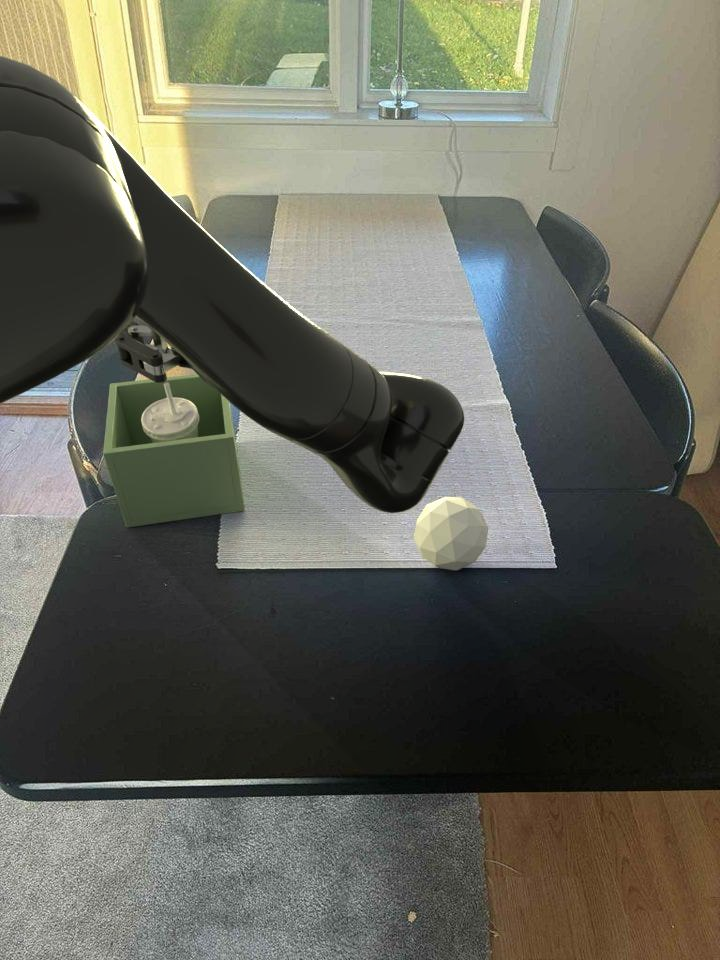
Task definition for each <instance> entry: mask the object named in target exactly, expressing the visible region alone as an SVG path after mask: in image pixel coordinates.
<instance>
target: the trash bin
mask: <svg viewBox="0 0 720 960" xmlns="http://www.w3.org/2000/svg"><path fill="white" fill-rule="evenodd" d="M164 383H169V386H170V390H171V393H172V397H173V398H183V399H186V400H189V401H191V402H192V403H193V404H194V405H195V406H196V408H197V411H198V414H199V423H198V425H197V427H198V437H197V438H189V439H181V440H174V441H166V442H158V443H153V442H152V440H151V438H150V437H149V436H148V435H147V434H146V433H145V432H144V430H143V427H142V422H141V417H142V414H143V412H144V411H145V410H146V408H148V407H149V406H150V405H151V404H153V403H155V402H157V401H159V400H162V399H166V398H167V395H166V391H165V387H164ZM106 411H107V413H106V421H105V430H104V442H103V451H102V455H103V459H104V462H105V465H106V469H107V471H108V474H109V477H110V481H111V484H112V487H113V490H114V494H115V497H116V500H117V503H118V506H119V509H120V511H121V515H122V519H123V521H124V524H125V528H128V529H129V528H133V527H141V526H147V525H154V524H155V525H156V524H161V523H168V522H174V521H183V520H189V519H197V518H203V517H211V516H216V515H224V514H230V513H231V514H232V513H237V512H244V511H245V510H246V509H245V502H244V495H243V488H242V487H243V486H242V479H241V478H242V477H241V472H240V471H241V470H240V463H239V455H238V447H237V441H236V440H237V439H236V434H235V427H234V421H233V420H234V419H233V414H232V413H233V412H232V406H231V403H230V402H229V401H228V400H227V399H226V398H225V397H224V396H223V395H221V394H220V393H219V392H218V391H217V390H216V389H215V388H213V387H211V386H210V385H208V384H207V383H205V382H204V381H203V380H202V379H201V378H200V377H199V376H198V374H197V373H193V374H192V373H191V374H185V375H175V376H174V375H173V376H167V380H166V381H164V382H161V383H156V382H154V381H152V380H150V379H149V378H147V379H139V380H131V381H121V382H113V383H110V384H109V392H108V402H107V410H106Z"/></svg>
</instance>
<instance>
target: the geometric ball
mask: <svg viewBox="0 0 720 960" xmlns="http://www.w3.org/2000/svg"><path fill="white" fill-rule="evenodd" d="M488 535H489V526H488V523H487V521H486V519H485V517H484V515H483V513H482V510H481V509H480V508H479V507H478V506H476V505H474V504H473V503H471V502H470V501H468V500H467V499H465V498H463V497H455V496H454V497H453V496H444V497H441V498H439V499H437V500H434V501H432V502H430V503H427V504H426V505H425V506H424V508H423V509H422V512H420V514H419V517H418V518H417V519H416V524H415V529H414V534H413V540H414V542H415V545H416V547H417V549H418V551H419V554H420V555H421V557H422V558H423V559H424V560H426V561H427V562H429V563H431V564H432V565H434V566H435V567H436V568H438V569H443V570H449V571H456V572H457V571H459V570H461V569H463V568H465V567H467V566H469V565H471V564H474V563H476V561H477V560H478V559H479V557H480V556H481V554H482V553H483V552H484V550H485V549H486V547H487V542H488Z"/></svg>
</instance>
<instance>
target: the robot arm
mask: <svg viewBox="0 0 720 960" xmlns="http://www.w3.org/2000/svg"><path fill="white" fill-rule="evenodd" d="M134 319H137V320H139V322H141V323H142V324H143V325H139V323H138V322H137V321H135V320H134ZM145 338H150V339H152V341H153V344H150V343H149V344H148V343H146V341H145ZM113 341H114V343H115V345H116V348H117V351H118V355H119V361H120V364H121V365H123V366H125V367H127V368H129V369H130V370H132V371H134V372H136V373H137V374H140V375H141V376H143V377H145V378H147V379H150V380H152V381H154V382H156V383H161V382H164V381H166V380H167V377H168V376H167V372H168V371H170V370H172V369H174V368H176V367H177V366H178V367H179V368H184V369H190V370H192V371H194V372H195V374H198V376H199V377H200V378H201V379H202V380H203V381H204V382H205V383H207V384H208V385H210V386H211V387H213V388H215V389H216V390H217V391H218V392H219V393H220V394H221V395H223V396H224V397H225V398H226V399H227V400H228V401H229V402H230V405H232V406H233V407H234V408H236V409H237V410H238V411H239V412H241V413H242V414H243V415H245V416H246V417H247V418H249V419H250V420H252V421H253V422H254V423H256V424H257V425H259V426H260V427H262V428H264V429H265V430H267V431H269V432H270V433H273V434H275V435H277V436H278V437H281V438H283V439H285V440H287V441H288V442H291V443H293V444H295V445H297V446H299V447H301V448H303V449H305V450H307V451H309V452H312V453H313V454H314V455H316V456H318V457H320V458H322V459H323V460H324V461H325V462H326V463H327V464H328V465H329V466H330V467H331V468H332V470H333V471H334V472H335V474H336V475H337V476H338V477H339V479H340V480H341V482H342V483H343V484H344V485H345V486H346V487H347V488H348V489H349V490H350V491H351V492H352V494H354V495H355V496H356V497H357V498H358V499H359V500H361V502H363V503H365V504H366V505H368V506H369V507H370V508H373V509H374V510H377V511H379V512H383V513H387V514H401V513H405V512H408V511H410V510H412V509H414V508H415V507H417V506H418V505H419V504H420V503H421V502H422V500H423V499H424V498H425V496H426V495H427V493H428V492H429V489H430V488H431V486H432V484H433V482H434V480H435V479H436V477H437V475H438V473H439V471H441V468H442V466H443V465H444V463H445V461H446V460H447V458H448V456H449V454H450V451H452V450H453V447H454V446H455V444H456V443H457V441H458V439H459V437H460V435H461V433H462V431H463V429H464V424H465V412H464V410H463V407H462V405H461V403H460V401H459V399H458V398H457V397H456V395H455V394H454V393H453V392H452V391H451V390H450V389H449V388H447V387H446V386H445V385H442V384H441V383H439V382H437V381H435V380H434V379H433V380H432V379H430V378H427V377H424V376H421V375H414V374H409V373H403V372H402V373H400V372H392V371H383V370H381V371H380V370H378V369H377V368H376V366H373V365H372V364H371V363H370V362H369V361H367V360H366V359H364V358H363V357H361V356H360V355H359V354H357V353H356V352H355V351H354V350H352V349H351V348H350V347H348V346H346V344H344V343H342V342H341V341H340V340H339V339H337V338H336V337H334V336H333V335H331V334H330V333H329V332H327V331H326V330H325V329H323V328H322V327H320V325H318V324H317V323H315V322H314V321H312V320H311V319H310V318H308V317H307V316H306V315H304V314H303V313H301V312H300V311H299V310H298V309H297V308H295V307H294V306H293V305H291V304H290V303H289V302H288V301H286V300H285V299H283V297H281V296H280V295H279V294H277V292H275V291H274V290H273V289H271V288H270V287H269V286H268V285H267V284H265V282H263V281H262V280H261V279H260V278H258V277H257V276H256V275H255V274H254V273H253V272H251V270H249V269H248V268H247V267H246V266H245V265H243V264H242V263H241V262H240V261H239V260H238V259H236V257H234V256H233V254H231V253H230V252H229V251H228V250H227V249H226V248H224V247H223V246H222V245H221V244H220V243H219V242H218V241H217V240H216V239H215V238H214V237H212V236H211V234H209V233H208V232H207V231H206V230H205V229H204V228H203V227H202V226H201V225H200V224H199V223H198V222H196V221H195V220H194V219H193V217H191V216H190V214H188V213H187V212H186V210H184V209H183V208H182V206H180V205H179V204H178V203H177V202H176V201H175V200H174V199H173V197H171V196H170V195H169V194H168V193H167V192H166V191H165V190H164V188H163V187H162V186H161V185H160V184H159V183H158V182H157V181H156V180H155V179H154V178H153V177H152V176H151V175H150V173H148V171H146V169H145V167H143V166H142V165H141V164H140V162H138V160H136V158H135V157H134V156H133V155H132V154H131V153H130V152H129V151H128V150H127V149H126V147H124V145H123V144H122V143H121V142H120V141H119V140H118V139H117V138H116V137H115V136H114V135H113V133H112V132H111V131H110V130H109V129H108V128H107V127H106V126H105V125H104V124H103V123H102V122H101V121H100V120H99V119H98V118H97V116H96V115H95V114H94V113H93V112H92V111H91V110H90V109H89V108H88V107H87V106H86V105H85V104H84V103H83V102H82V101H81V100H80V99H79V98H78V97H77V96H76V95H75V94H74V93H73V92H72V91H71V90H69V89H68V88H67V87H66V86H64V85H63V84H62V83H60V82H59V81H58V80H56V79H55V78H53V77H51V76H49V75H48V74H46V73H44V72H42V71H40V70H39V69H36V68H35V67H33V66H31V65H30V64H27V63H24V62H21V61H18V60H15V59H12V58H9V57H6V56H4V55H3V56H2V55H0V405H2V404H4V403H6V402H8V401H10V400H12V399H15V398H16V397H18V396H21V395H23V394H24V393H27V392H28V391H31V390H33V389H35V388H37V387H38V386H40V385H43V384H45V383H46V382H49V381H50V380H53V379H54V378H57V377H59V376H60V375H62V374H64V373H66V372H67V371H69V370H71V369H73V368H75V367H76V366H78V365H80V364H82V363H83V362H85V361H87V360H88V359H90V358H91V357H93V356H95V355H96V354H98V353H99V352H100V351H102V350H103V349H104V348H105V347H107V346H108V345H110V344H111V343H112V342H113ZM169 346H170V347H169Z"/></svg>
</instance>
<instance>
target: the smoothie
mask: <svg viewBox="0 0 720 960" xmlns="http://www.w3.org/2000/svg"><path fill="white" fill-rule="evenodd" d="M164 387H165V391H166V395H167V398H166V399H162V400H159V401H157V402H155V403H153V404H151V405H150V406H149V407H148V408H146V410H145V411H144V412H143V414H142V417H141V422H142V427H143V430H144V432H145V433H146V434H147V435H148V436H149V437H150V438H151V440H152V442H153V443H158V442H166V441H174V440H181V439H189V438H197V437H198V427H197V425H198V423H199V414H198V411H197V408H196V406H195V405H194V404H193V403H192V402H191V401H189V400H186V399H183V398H173V397H172V393H171V390H170V386H169V383H164Z"/></svg>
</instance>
